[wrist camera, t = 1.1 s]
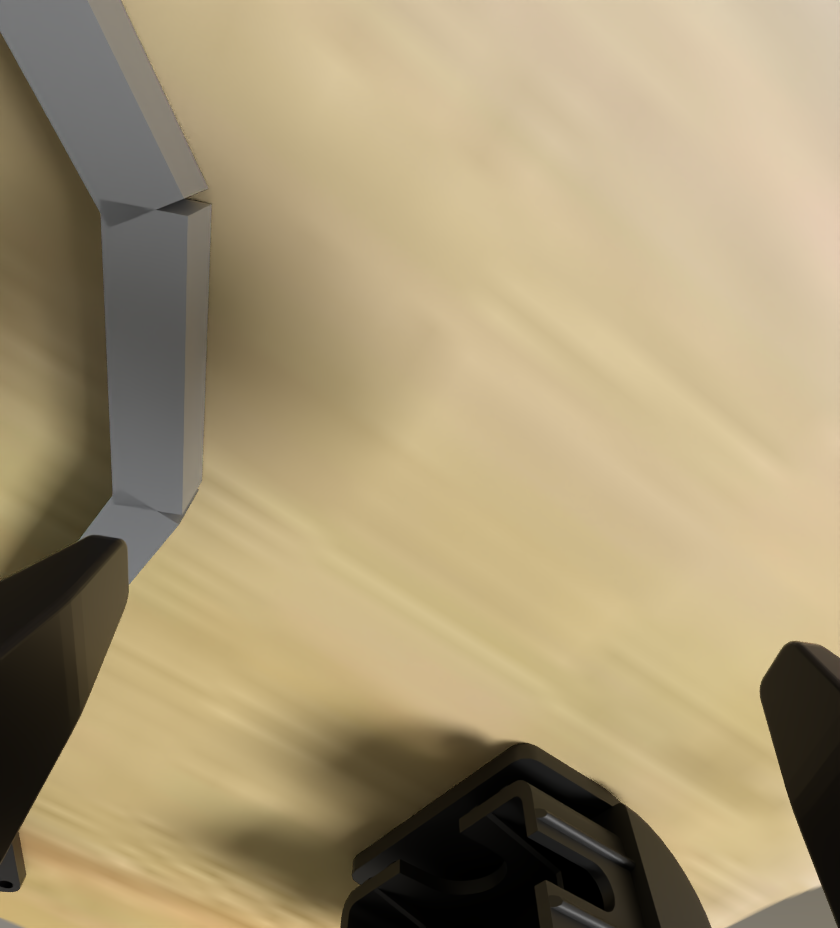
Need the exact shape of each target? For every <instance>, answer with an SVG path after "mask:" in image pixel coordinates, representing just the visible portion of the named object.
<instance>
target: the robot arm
mask: <svg viewBox="0 0 840 928" xmlns="http://www.w3.org/2000/svg"><path fill="white" fill-rule="evenodd" d="M128 593H129V577H128V549H127V545H126V542H125V541H124V540H122V539H121V538H115V537H108V536H102V535H89V536H87V537H85V538H83V539H81V540H79V541H77V542H75V543H73V544H71V545H69V546H67V547H65V548H63V549H61V550H59V551H57V552H55V553H53V554H52V555H50V556H48V557H46V558H44V559H42V560H40V561H38V562H36V563H34V564H32V565H30V566H28V567H26V568H24V569H22V570H20V571H18V572H16V573H14V574H13V575H11V576H9V577H7V578H5V579H3V580H1V581H0V891H2V892H15V891H18V890H19V889H20V887H21V885H22V883H23V881H24V879H25V878H26V871H25V865H24V860H23V854H22V848H21V843H20V837H19V832H18V831H19V829H20V827H21V825H22V824H23V822H24V820H25V818H26V816H27V814H28V813H29V811H30V809H31V807H32V805H33V803H34V802H35V800H36V798H37V796H38V794H39V792H40V791H41V789H42V787H43V785H44V783H45V781H46V780H47V778H48V776H49V774H50V772H51V770H52V769H53V767H54V765H55V763H56V761H57V759H58V758H59V756H60V754H61V752H62V750H63V748H64V747H65V745H66V743H67V741H68V739H69V737H70V736H71V734H72V732H73V730H74V728H75V726H76V724H77V722H78V720H79V718H80V716H81V714H82V712H83V709H84V707H85V705H86V702H87V700H88V698H89V695H90V693H91V690H92V688H93V685H94V683H95V680H96V678H97V675H98V673H99V671H100V668H101V666H102V663H103V661H104V658H105V656H106V653H107V651H108V648H109V646H110V643H111V641H112V639H113V636H114V634H115V631H116V629H117V626H118V624H119V621H120V619H121V616H122V614H123V611H124V609H125V606H126V603H127V599H128ZM760 699H761V703H762V706H763V710H764V713H765V717H766V720H767V724H768V727H769V731H770V734H771V738H772V741H773V745H774V749H775V752H776V756H777V759H778V763H779V766H780V770H781V773H782V777H783V780H784V784H785V787H786V791H787V794H788V797H789V800H790V803H791V806H792V809H793V812H794V815H795V818H796V820H797V823H798V826H799V828H800V831H801V833H802V836H803V839H804V841H805V844H806V846H807V849H808V852H809V854H810V857H811V859H812V862H813V864H814V867H815V870H816V872H817V875H818V877H819V880H820V883H821V885H822V888H823V890H824V893H825V895H826V898H827V901H828V903H829V906H830V908H831V911H832V913H833V916H834V919H835V921H836V924H837V926H838V928H840V658H839V657H838V656H836V655H835V654H833V653H832V652H831V651H829V650H828V649H826V648H825V647H823V646H821V645H818V644H813V643H807V642H800V641H790V642H788V643H787V644H785V645H784V646H783V647H782V649H781V650H780V652H779V654H778V655H777V657H776V658H775V660H774V662H773V663H772V665H771V666H770V668H769V669H768V671H767V673H766V674H765V676H764V677H763V679H762V681H761V685H760Z"/></svg>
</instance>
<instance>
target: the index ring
mask: <svg viewBox="0 0 840 928" xmlns="http://www.w3.org/2000/svg"><path fill="white" fill-rule="evenodd" d="M0 32H1V34H2V36H3V38H4V39H5V41H6V43H7V45H8V47H9V48H10V50H11V52H12V54H13V56H14V57H15V59H16V61H17V63H18V65H19V67H20V68H21V70H22V72H23V74H24V76H25V77H26V79H27V81H28V83H29V85H30V86H31V88H32V90H33V92H34V94H35V96H36V97H37V99H38V101H39V103H40V105H41V106H42V108H43V110H44V112H45V114H46V116H47V117H48V119H49V121H50V123H51V125H52V126H53V128H54V130H55V132H56V134H57V135H58V137H59V139H60V141H61V143H62V145H63V146H64V148H65V150H66V152H67V154H68V155H69V157H70V159H71V161H72V163H73V164H74V166H75V168H76V170H77V172H78V174H79V175H80V177H81V179H82V181H83V183H84V184H85V186H86V188H87V190H88V192H89V194H90V195H91V197H92V199H93V201H94V203H95V204H96V206H97V208H98V210H99V212H100V214H101V237H102V260H103V283H104V306H105V329H106V352H107V375H108V398H109V421H110V444H111V467H112V490H113V495H112V497H111V498H110V499H109V501H108V502H107V503H106V505H105V506H104V507H103V508H102V510H101V511H100V512H99V514H98V515H97V516H96V518H95V519H94V520H93V522H92V523H91V524H90V526H89V527H88V528H87V530H86V531H85V532H84V534H83V535H82V536H81V538H80V539H79V540H81V539H83V538H85V537H87V536H89V535H102V536H108V537H115V538H121V539H122V540H124V541H125V542H126V545H127V549H128V577H129V584H130V583H131V582H132V580H133V579H134V578H135V577H136V576H137V574H138V573H139V572H140V571H141V570H142V568H143V567H144V566H145V565H146V564H147V562H148V561H149V560H150V559H151V558H152V556H153V555H154V554H155V553H156V552H157V550H158V549H159V548H160V547H161V546H162V544H163V543H164V542H165V541H166V540H167V538H168V537H169V536H170V535H171V534H172V532H173V531H174V530H175V529H176V528H177V526H178V525H179V524H180V522H181V520H182V518H183V517H184V515H185V513H186V511H187V509H188V508H189V506H190V504H191V502H192V501H193V499H194V497H195V495H196V494H197V492H198V489H197V488H198V487H199V485H200V483H201V481H202V466H203V438H204V410H205V381H206V353H207V325H208V296H209V268H210V240H211V211H212V204H209V203H204V202H199V201H194V200H189V199H184V198H187V197H189V196H191V195H194V194H196V193H199V192H201V191H203V190H206V189H208V186H207V184H206V182H205V180H204V177H203V175H202V173H201V171H200V169H199V167H198V164H197V162H196V160H195V158H194V156H193V154H192V152H191V149H190V147H189V145H188V143H187V141H186V139H185V137H184V134H183V132H182V130H181V128H180V126H179V124H178V122H177V119H176V117H175V115H174V113H173V111H172V109H171V107H170V104H169V102H168V100H167V98H166V96H165V94H164V92H163V89H162V87H161V85H160V83H159V81H158V79H157V77H156V74H155V72H154V70H153V68H152V66H151V64H150V62H149V59H148V57H147V55H146V53H145V51H144V49H143V47H142V44H141V42H140V40H139V38H138V36H137V34H136V31H135V29H134V27H133V25H132V23H131V21H130V19H129V16H128V14H127V12H126V10H125V8H124V6H123V4H122V1H121V0H0ZM79 540H78V541H79Z"/></svg>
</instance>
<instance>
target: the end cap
mask: <svg viewBox="0 0 840 928" xmlns="http://www.w3.org/2000/svg"><path fill="white" fill-rule="evenodd" d="M352 877H353V880H354V881H356V882H357V883H358V884H360V886H359V887H357V888H356V889H355V890H353V891H352V892H351V894H350V895H349V897H348V898H347V900H346V902H345V905H344V908H343V912H342V917H341V928H711V925H710V923H709V920H708V918H707V915H706V913H705V911H704V909H703V907H702V904H701V902H700V900H699V898H698V896H697V894H696V892H695V890H694V889H693V887H692V885H691V883H690V881H689V880H688V878H687V876H686V874H685V873H684V871H683V870H682V868H681V866H680V865H679V863H678V862H677V860H676V859H675V857H674V856H673V854H672V853H671V852H670V850H669V849H668V848H667V846H666V845H665V844H664V842H663V841H662V840H661V838H660V837H659V836H658V835H657V834H656V833H655V832H654V831H653V829H652V828H651V827H650V826H649V825H648V824H647V823H646V822H645V821H644V820H643V819H642V818H641V817H640V816H639V815H638V814H636V813H635V812H634V811H633V810H631V809H630V808H628V807H627V806H626V805H624V804H622V803H621V802H619V801H618V800H617V799H616V798H615V797H614V796H613V795H612V794H610V793H609V792H608V791H607V790H606V789H605V788H603V787H602V786H600V785H598V784H597V783H595V782H594V781H592V780H590V779H589V778H587V777H586V776H584V775H582V774H581V773H579V772H577V771H576V770H574V769H573V768H571V767H569V766H568V765H566V764H565V763H563V762H561V761H560V760H558V759H556V758H555V757H553V756H552V755H550V754H548V753H547V752H545V751H544V750H542V749H540V748H539V747H537V746H535V745H532V744H529V743H524V744H517V745H514V746H512V747H510V748H509V749H507V750H506V751H504V752H503V753H502V754H500V755H499V756H497V757H496V758H494V759H493V760H492V761H490V762H489V763H487V764H486V765H485V766H483V767H482V768H480V769H479V770H477V771H476V772H475V773H473V774H472V775H470V776H469V777H467V778H466V779H465V780H463V781H462V782H460V783H459V784H458V785H456V786H455V787H453V788H452V789H450V790H449V791H448V792H446V793H445V794H443V795H442V796H440V797H439V798H438V799H436V800H435V801H433V802H432V803H431V804H429V805H428V806H426V807H425V808H423V809H422V810H421V811H419V812H418V813H416V814H415V815H414V816H412V817H411V818H409V819H408V820H406V821H405V822H404V823H402V824H401V825H399V826H398V827H396V828H395V829H394V830H392V831H391V832H389V833H388V834H387V835H385V836H384V837H382V838H381V839H379V840H378V841H377V842H375V843H374V844H372V845H371V846H369V847H368V848H367V849H365V850H364V851H362V852H361V853H360V854H358V855H357V856H356V857H355V859H354V860H353V870H352Z"/></svg>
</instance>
